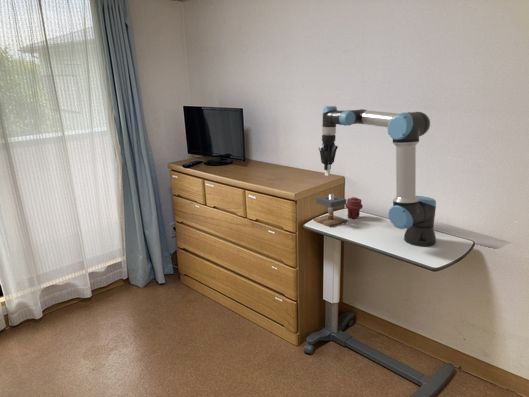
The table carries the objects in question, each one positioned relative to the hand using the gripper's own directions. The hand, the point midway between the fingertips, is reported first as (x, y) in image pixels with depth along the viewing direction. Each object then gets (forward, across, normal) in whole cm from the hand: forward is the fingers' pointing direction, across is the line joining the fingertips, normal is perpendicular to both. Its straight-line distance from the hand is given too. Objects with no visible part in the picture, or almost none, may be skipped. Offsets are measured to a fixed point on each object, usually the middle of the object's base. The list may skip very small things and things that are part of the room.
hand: (327, 175), depth 233 cm
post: (+25, 0, +5) cm, 26 cm away
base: (+27, 0, +5) cm, 27 cm away
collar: (+16, 0, +4) cm, 16 cm away
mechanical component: (+27, -16, +8) cm, 32 cm away
